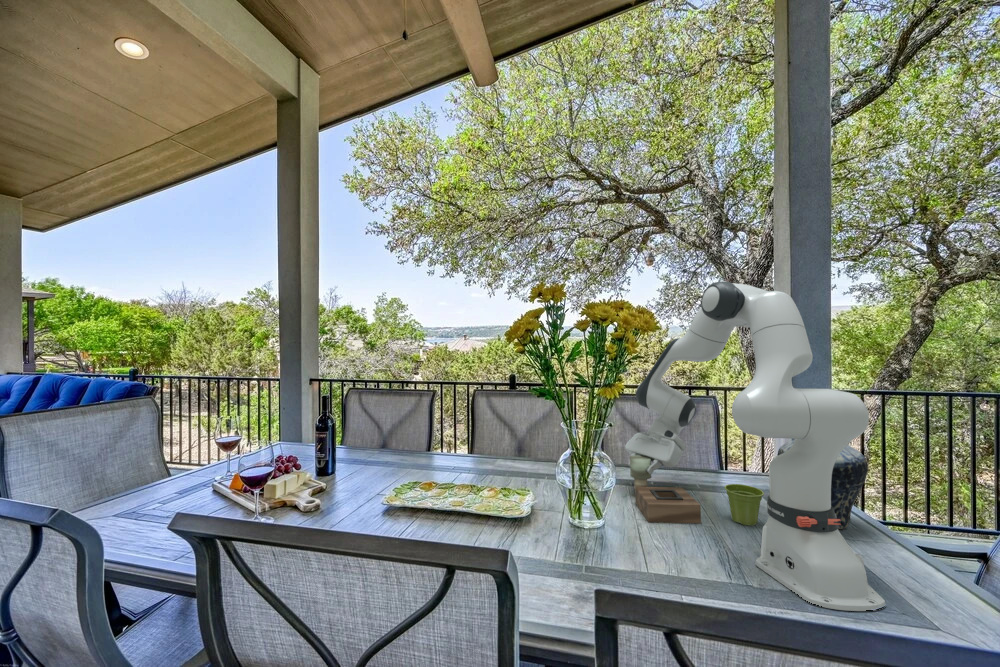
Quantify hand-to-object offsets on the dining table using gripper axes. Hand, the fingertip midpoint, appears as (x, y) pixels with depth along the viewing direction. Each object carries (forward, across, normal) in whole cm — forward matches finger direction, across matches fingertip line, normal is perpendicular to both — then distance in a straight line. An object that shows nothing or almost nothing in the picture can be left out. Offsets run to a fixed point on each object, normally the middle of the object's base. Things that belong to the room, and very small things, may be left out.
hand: (639, 469), depth 136 cm
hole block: (+8, +14, +4) cm, 16 cm away
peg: (+4, 0, +5) cm, 7 cm away
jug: (-15, +37, +28) cm, 48 cm away
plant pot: (-2, +27, +15) cm, 31 cm away
